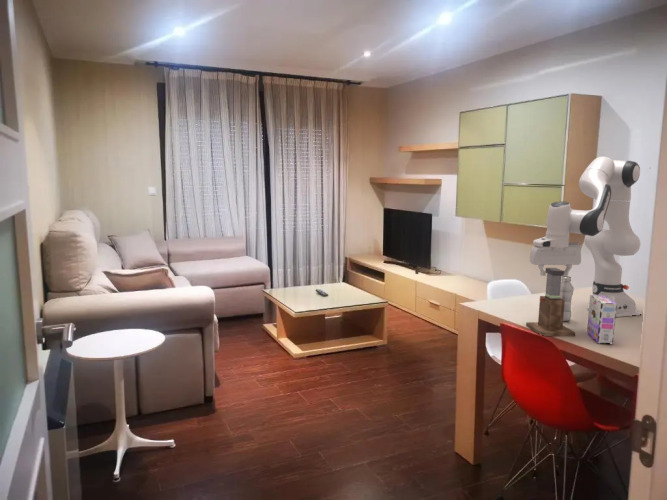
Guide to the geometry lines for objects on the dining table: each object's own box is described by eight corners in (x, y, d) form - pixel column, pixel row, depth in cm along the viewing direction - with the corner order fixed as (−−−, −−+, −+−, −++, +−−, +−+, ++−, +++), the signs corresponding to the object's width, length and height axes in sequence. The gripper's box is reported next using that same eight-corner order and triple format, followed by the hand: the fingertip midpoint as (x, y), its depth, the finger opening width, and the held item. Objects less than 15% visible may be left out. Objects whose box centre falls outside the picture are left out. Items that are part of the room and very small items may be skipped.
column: (551, 309, 213) (555, 267, 210) (560, 314, 206) (563, 271, 203) (542, 309, 212) (545, 267, 210) (550, 314, 206) (554, 271, 203)
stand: (557, 325, 218) (560, 293, 216) (574, 335, 204) (577, 302, 202) (525, 325, 217) (528, 294, 215) (541, 336, 203) (543, 302, 201)
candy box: (613, 345, 194) (617, 303, 191) (597, 343, 195) (601, 302, 192) (601, 333, 207) (605, 294, 205) (586, 332, 208) (589, 294, 206)
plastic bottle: (552, 318, 228) (555, 275, 225) (567, 318, 228) (571, 275, 225) (557, 322, 222) (561, 278, 219) (573, 322, 222) (577, 278, 219)
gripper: (577, 240, 208) (574, 273, 211) (529, 240, 207) (526, 273, 209) (585, 243, 202) (582, 276, 204) (536, 242, 201) (533, 276, 203)
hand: (554, 275), depth 207 cm, fingers open, 8 cm apart
